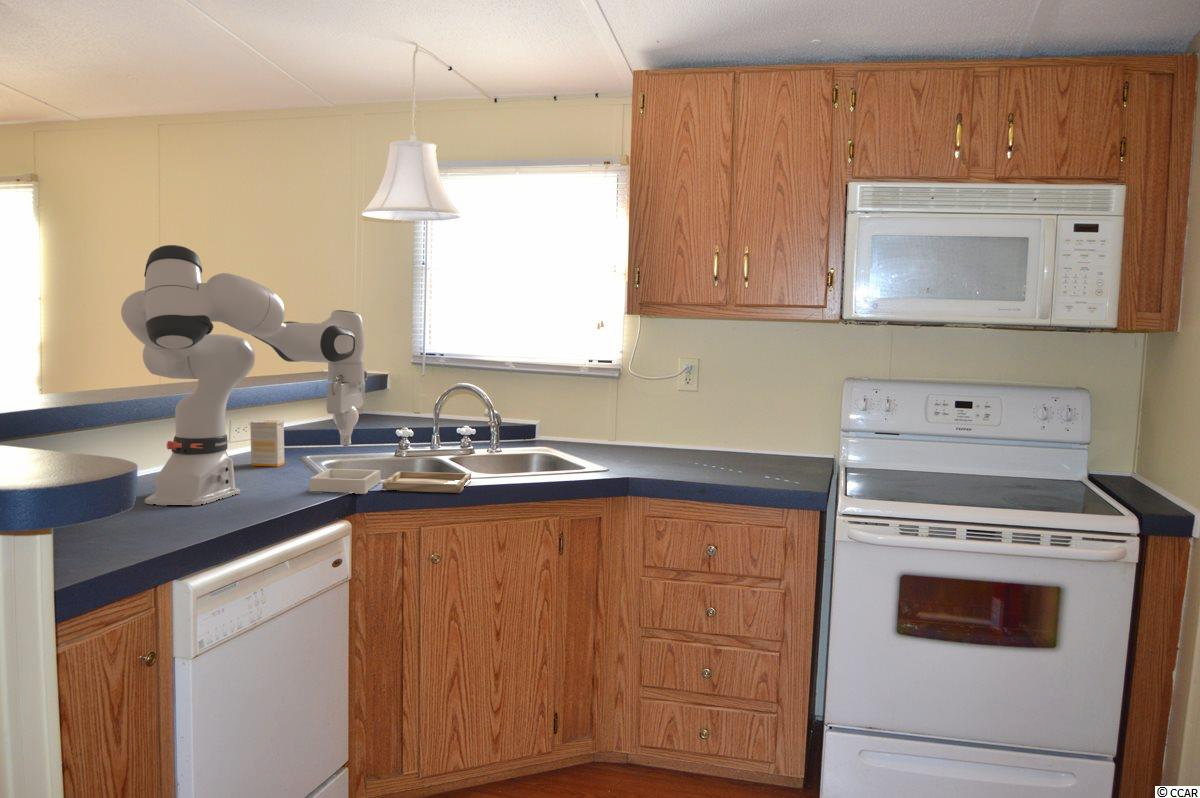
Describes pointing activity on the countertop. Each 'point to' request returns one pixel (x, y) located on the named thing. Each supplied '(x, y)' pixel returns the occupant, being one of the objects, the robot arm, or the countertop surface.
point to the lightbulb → (348, 425)
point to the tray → (426, 482)
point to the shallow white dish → (345, 480)
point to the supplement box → (267, 443)
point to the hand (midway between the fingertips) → (345, 428)
